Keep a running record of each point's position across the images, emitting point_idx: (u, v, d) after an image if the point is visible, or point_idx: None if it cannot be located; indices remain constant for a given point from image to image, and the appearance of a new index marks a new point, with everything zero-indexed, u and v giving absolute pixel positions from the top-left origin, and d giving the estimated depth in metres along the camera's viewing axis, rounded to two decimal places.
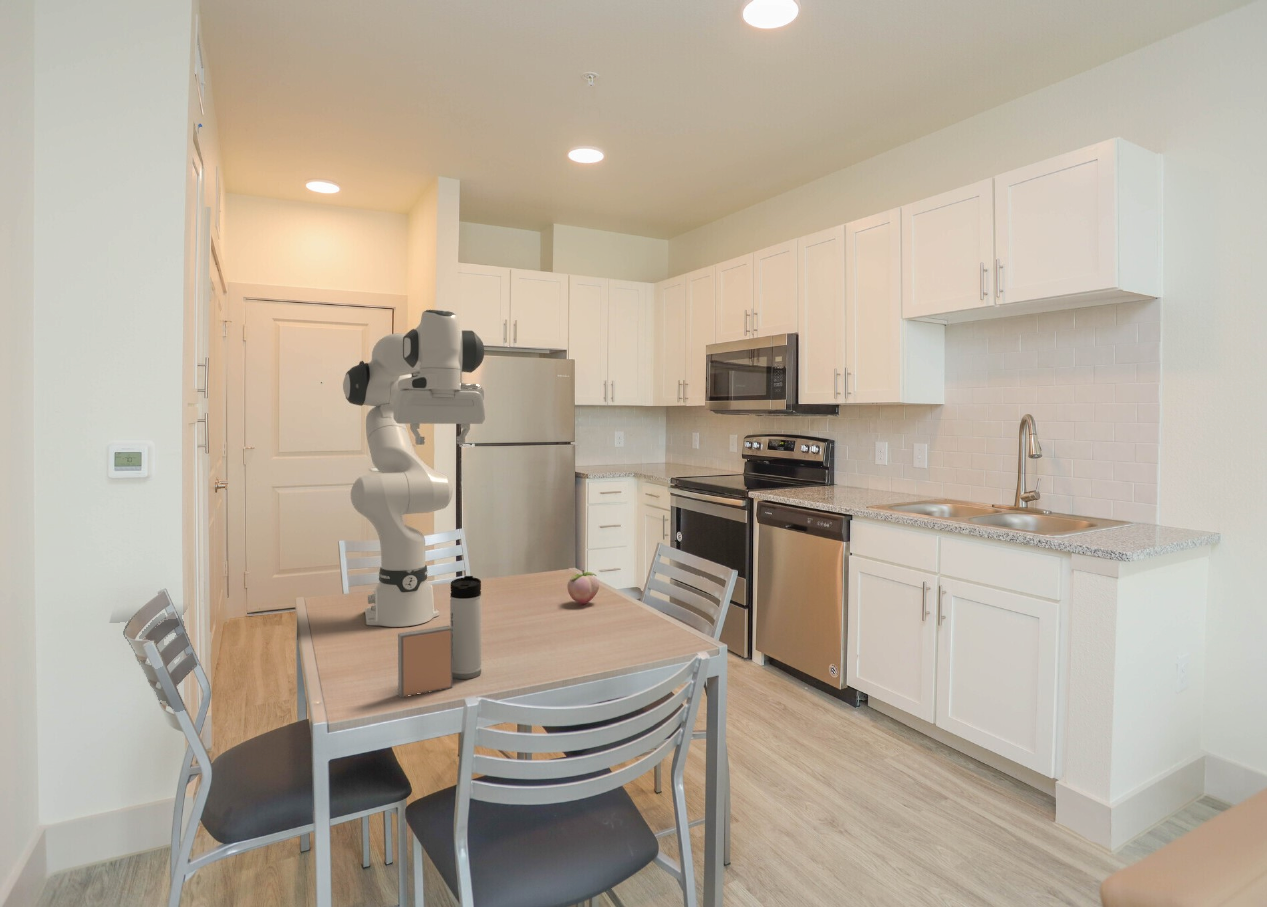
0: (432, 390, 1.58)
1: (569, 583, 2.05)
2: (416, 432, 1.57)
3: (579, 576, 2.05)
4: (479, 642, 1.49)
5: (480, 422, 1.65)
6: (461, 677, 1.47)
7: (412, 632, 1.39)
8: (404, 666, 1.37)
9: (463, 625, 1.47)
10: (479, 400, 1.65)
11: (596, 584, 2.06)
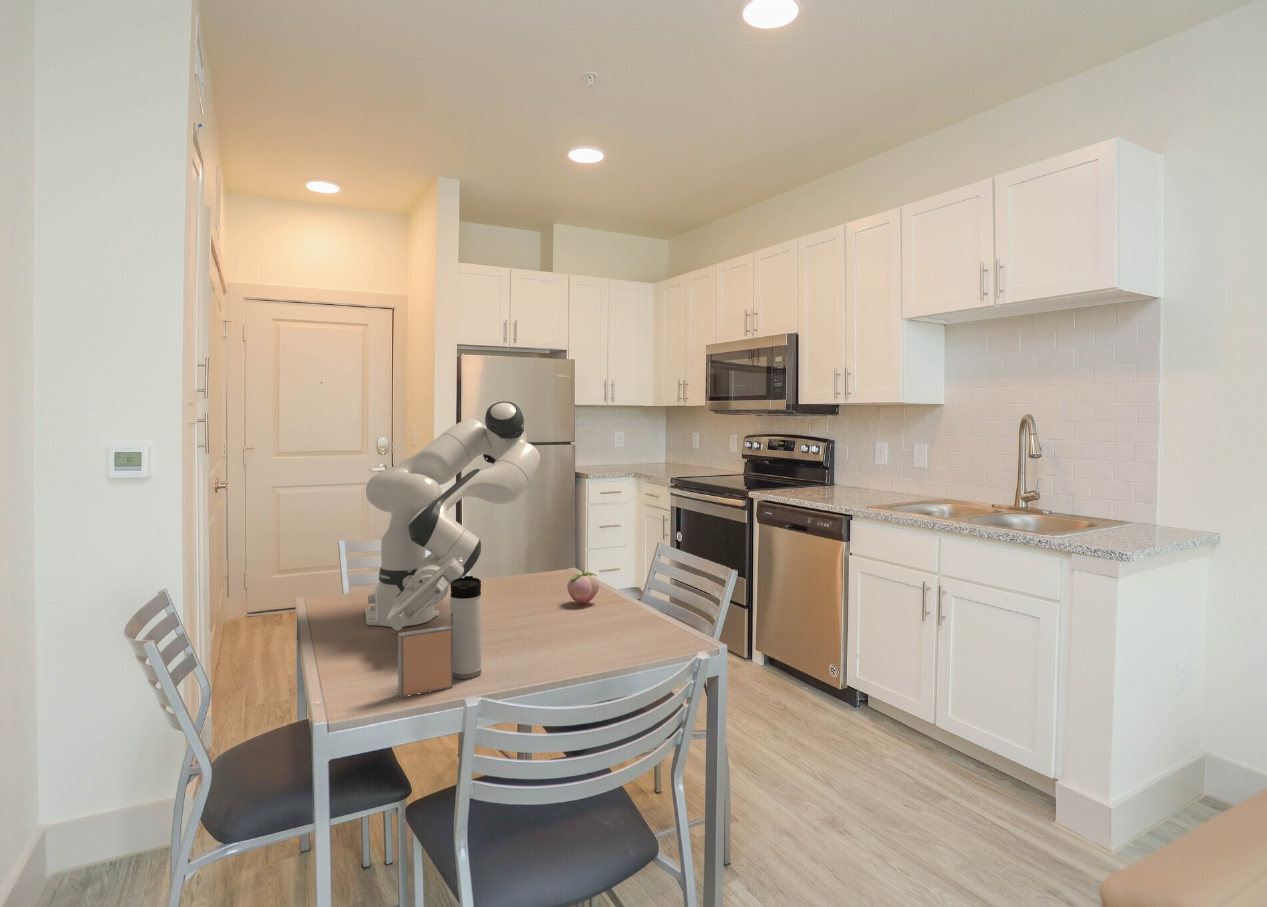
0: None
1: (569, 583, 2.05)
2: (400, 615, 1.58)
3: (579, 576, 2.05)
4: (479, 642, 1.49)
5: (448, 566, 1.61)
6: (461, 677, 1.47)
7: (412, 632, 1.39)
8: (404, 666, 1.37)
9: (463, 625, 1.47)
10: (450, 559, 1.66)
11: (596, 584, 2.06)
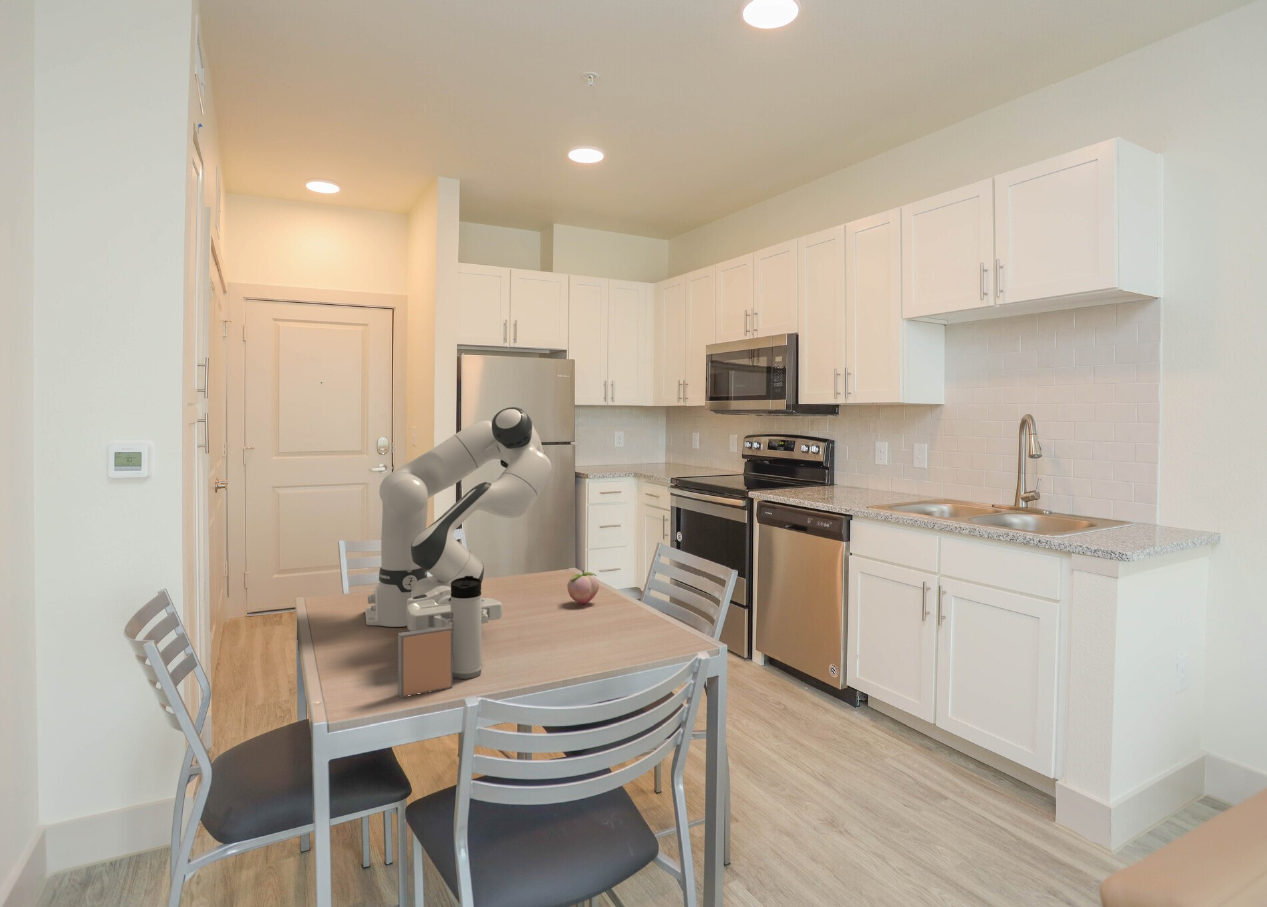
0: (437, 602, 1.58)
1: (569, 583, 2.05)
2: (439, 618, 1.49)
3: (579, 576, 2.05)
4: (479, 642, 1.49)
5: (498, 603, 1.58)
6: (461, 677, 1.47)
7: (412, 632, 1.39)
8: (404, 666, 1.37)
9: (463, 625, 1.47)
10: (488, 598, 1.62)
11: (596, 584, 2.06)
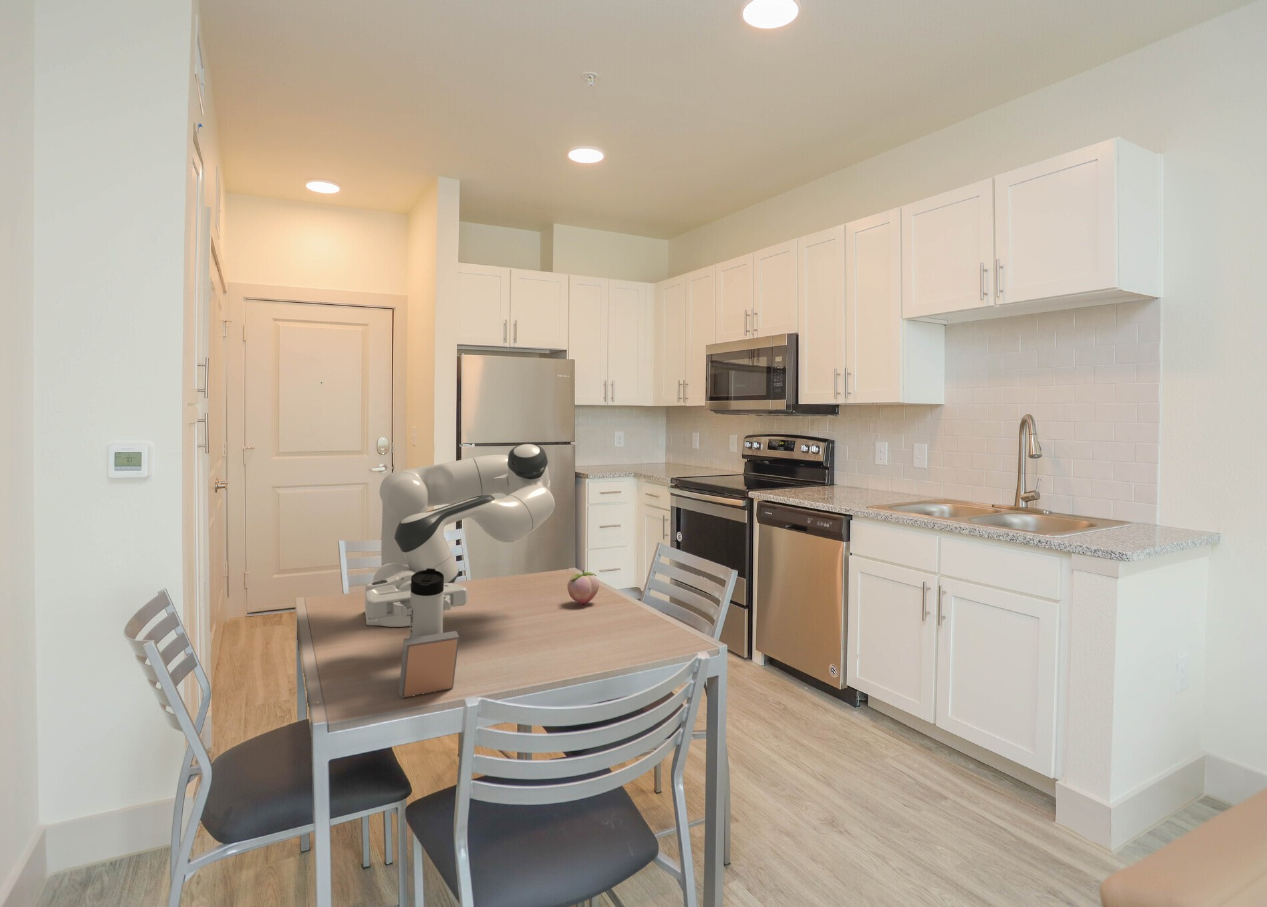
0: (398, 588, 1.49)
1: (569, 583, 2.05)
2: (398, 604, 1.40)
3: (579, 576, 2.05)
4: None
5: (462, 589, 1.50)
6: None
7: (418, 639, 1.36)
8: (407, 671, 1.35)
9: (423, 623, 1.39)
10: (453, 583, 1.54)
11: (596, 584, 2.06)
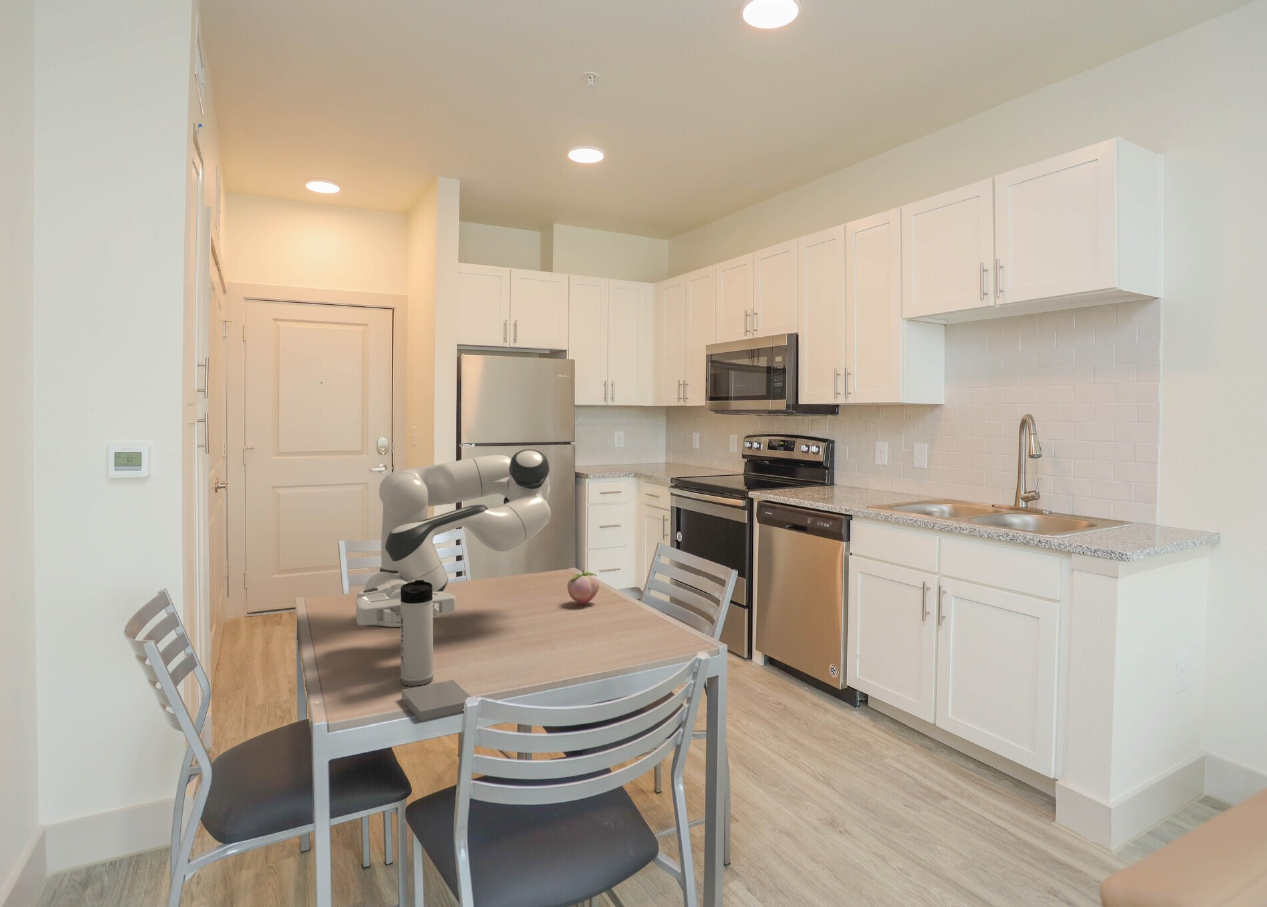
0: (388, 596, 1.54)
1: (569, 583, 2.05)
2: (388, 611, 1.45)
3: (579, 576, 2.05)
4: (431, 648, 1.45)
5: (451, 597, 1.54)
6: (412, 684, 1.43)
7: (434, 713, 1.28)
8: None
9: (413, 631, 1.43)
10: (442, 592, 1.58)
11: (596, 584, 2.06)
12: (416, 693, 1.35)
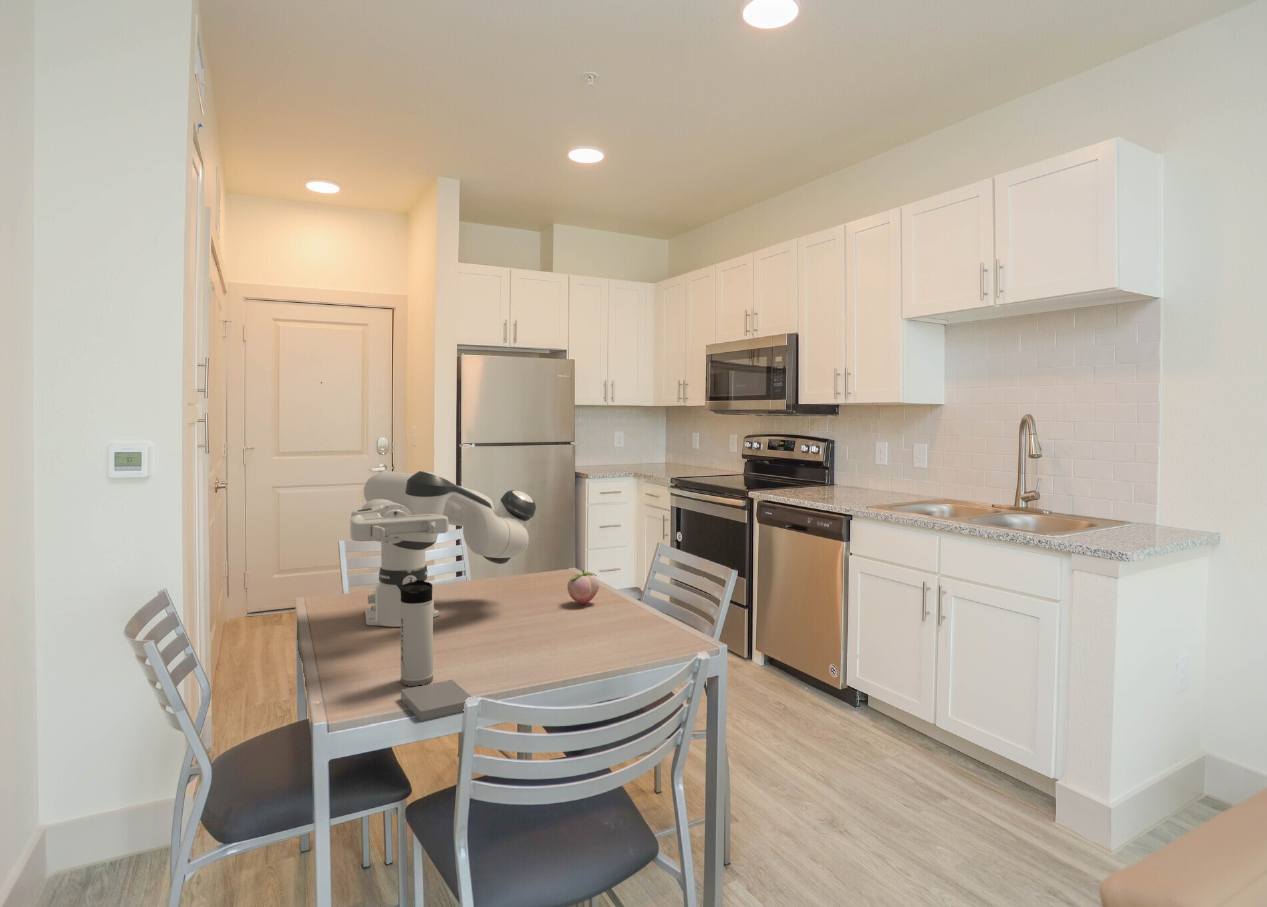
0: (382, 516, 1.57)
1: (569, 583, 2.05)
2: (377, 527, 1.48)
3: (579, 576, 2.05)
4: (431, 648, 1.45)
5: (443, 517, 1.58)
6: (412, 684, 1.43)
7: (434, 713, 1.28)
8: None
9: (413, 631, 1.42)
10: (435, 514, 1.62)
11: (596, 584, 2.06)
12: (416, 693, 1.35)
